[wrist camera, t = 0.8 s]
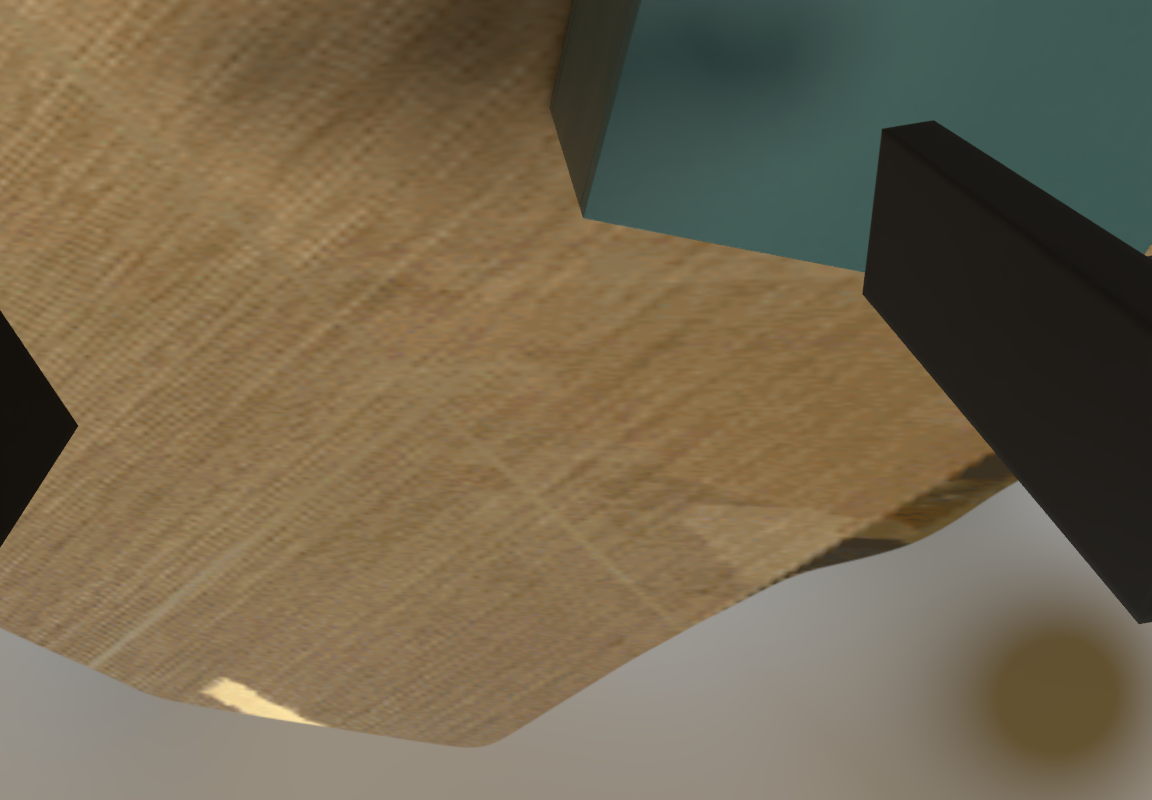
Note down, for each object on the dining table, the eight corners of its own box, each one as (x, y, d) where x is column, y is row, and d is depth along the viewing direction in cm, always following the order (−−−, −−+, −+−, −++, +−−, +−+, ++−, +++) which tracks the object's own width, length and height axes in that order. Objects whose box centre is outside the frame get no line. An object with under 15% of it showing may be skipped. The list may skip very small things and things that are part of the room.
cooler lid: (806, -660, 15) (1116, -1105, 8) (1514, -302, 19) (2108, -377, 12) (579, 208, 25) (624, 360, 18) (1085, 307, 29) (1280, 457, 22)
